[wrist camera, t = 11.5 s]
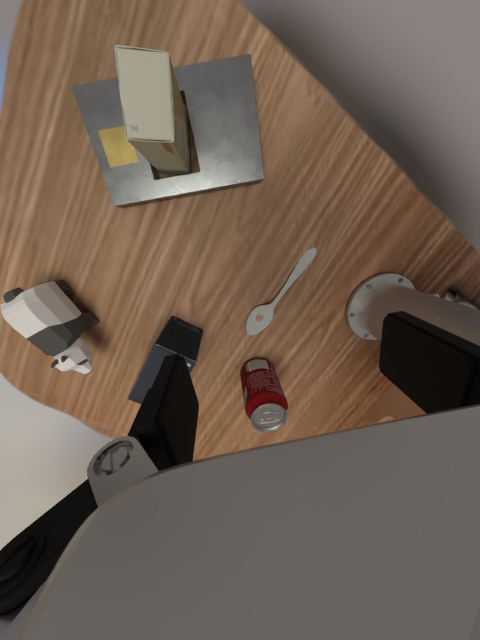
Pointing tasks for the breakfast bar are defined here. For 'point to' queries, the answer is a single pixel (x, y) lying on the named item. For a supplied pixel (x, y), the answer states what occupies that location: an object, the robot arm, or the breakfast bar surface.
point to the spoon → (268, 310)
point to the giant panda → (51, 323)
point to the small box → (169, 342)
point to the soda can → (263, 396)
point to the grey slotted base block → (207, 126)
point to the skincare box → (153, 108)
